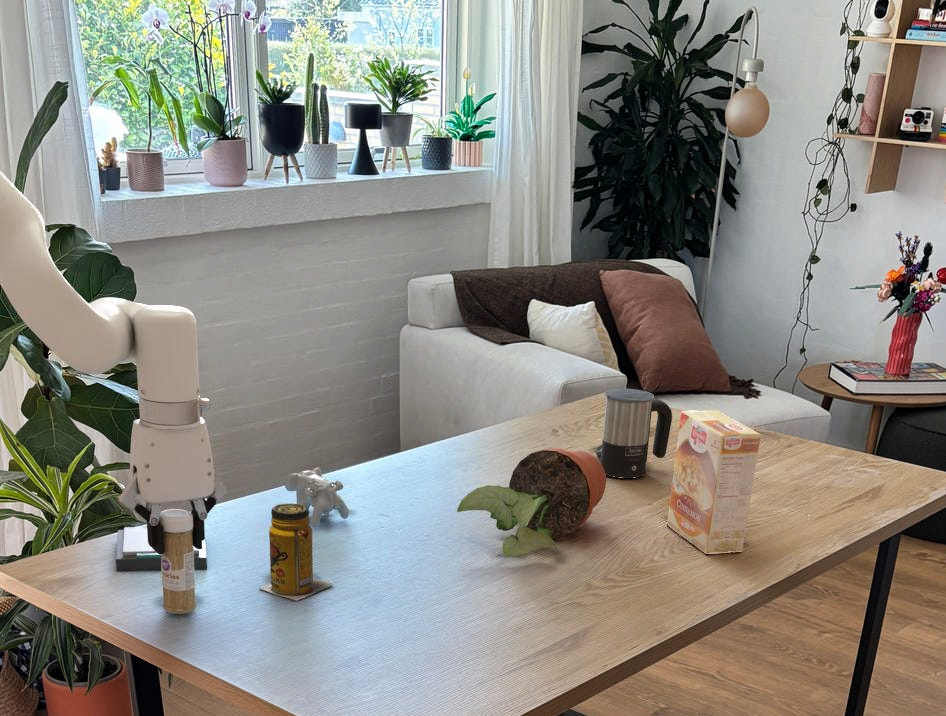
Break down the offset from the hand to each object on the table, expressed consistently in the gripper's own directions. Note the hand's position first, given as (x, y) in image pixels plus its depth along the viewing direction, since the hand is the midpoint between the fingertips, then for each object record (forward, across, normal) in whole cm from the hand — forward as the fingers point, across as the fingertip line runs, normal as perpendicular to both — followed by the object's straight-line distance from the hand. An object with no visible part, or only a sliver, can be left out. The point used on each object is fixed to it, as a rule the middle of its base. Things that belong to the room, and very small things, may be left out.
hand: (176, 547), depth 174 cm
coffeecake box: (+8, -89, +6) cm, 89 cm away
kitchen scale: (+9, -6, -22) cm, 25 cm away
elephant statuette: (+9, -34, -29) cm, 45 cm away
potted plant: (+9, -61, -3) cm, 62 cm away
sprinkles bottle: (+9, 0, 0) cm, 9 cm away
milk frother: (+8, -101, -34) cm, 107 cm away
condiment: (+9, -18, -2) cm, 21 cm away
